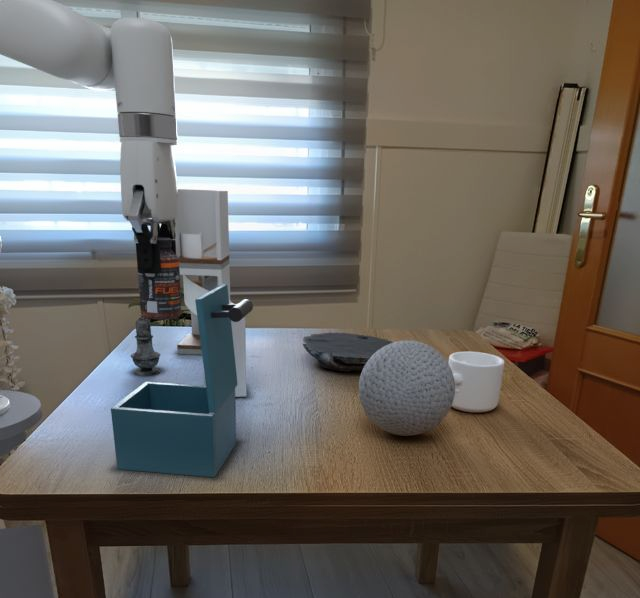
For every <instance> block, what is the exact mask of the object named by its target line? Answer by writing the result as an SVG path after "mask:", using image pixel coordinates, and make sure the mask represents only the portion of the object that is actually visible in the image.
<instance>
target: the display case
mask: <svg viewBox="0 0 640 598" xmlns="http://www.w3.org/2000/svg"><path fill="white" fill-rule="evenodd" d="M177 189H178V216H177V217H176V218H175V223H176V224H175V225H176V226H175V233H176V239H175V240H176V255H177V256H178V258H179V269H180V276H182V281H183V282H182V283H183V295H184V296H183V300H184V305H185V306H186V308H187V309H188V310H189V311H190V319H191V320H190V321H191V322H190V323H191V333H189V332H188V333H187V334H186V335H185V336H184V337H183V338H182V339H181V340H180V341H179V342H178V343H177V345H176V347H177V349H176V350H177V354H178V355H202V350H201V342H200V334H199V326H198V318H197V310H196V302H195V299H197V298H199V297H200V296H202V295H204V294H206V293H208V292H210V291H211V290H213V289H215V288H217V287H219V286H220V285H227V287H228V297H229V300H230V301H231V272H230V270H231V269H230V268H231V267H230V266H231V265H230V230H229V193H228V192H229V191H228V190H217V189H214V190H212V189H190V188H186V189H185V188H177Z"/></svg>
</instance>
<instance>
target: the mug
mask: <svg viewBox="0 0 640 598" xmlns="http://www.w3.org/2000/svg"><path fill="white" fill-rule="evenodd" d="M447 362H448V364H449V366H450V368H451V370H452V373H453V376H454V381H455V394H454V399H453V403H452V406H451V408H453V409H455V410H458V411H462V412H465V413H466V412H467V413H475V414H476V413H487V412H490V411H492V410H494V409H495V408H497V406H498V404H499V399H500V393H501V387H502V382H503V376H504V371H505V370H504V369H505V362H506V361H505V360H504V359H503V358H502V357H500V356H498V355H495V354H492V353H486V352H480V351H456V352H453V353H451V354H450V355H449V356H448V361H447Z"/></svg>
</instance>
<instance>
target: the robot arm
mask: <svg viewBox="0 0 640 598" xmlns="http://www.w3.org/2000/svg"><path fill="white" fill-rule="evenodd" d="M173 51H174V50H173V39H172V35H171V32H170V31H169V29H168V28H167V26H165V25H164V24H163V23H161V22H159V21H156V20H153V19H149V18H143V17H122V18H119V19H117V20H115V21H114V22H113V23H112V25H111V27H110V28H109V27H107V26H104V25H101V24H100V23H98V22H95V21H94V20H91V19H89V18H88V17H86V16H85V15H83V14H81V13H79V12H77V11H76V10H74V9H72V8H70V7H69V6H66V5H64V4H62V3H59V2H57V1H55V0H0V56H4V57H5V58H8V59H10V60H14V61H16V62H19V63H20V64H23V65H26V66H29V67H32V68H34V69H36V70H39V71H42V72H43V73H46V74H48V75H50V76H53V77H56V78H58V79H62V80H65V81H68V82H70V83H74V84H76V85H78V86H80V87H83V88H87V89H90V90H94V91H111V90H112V91H113V90H114V93H115V101H116V111H117V112H116V113H117V125H118V134H119V135H118V136H119V142H120V144H121V145H120V158H119V159H120V161H119V162H120V163H119V165H120V166H119V167H120V168H119V169H120V174H119V175H120V194H121V195H120V196H121V197H120V198H121V211H122V212H121V213H122V216H123V218H124V219H125V220H126V221H128V222H129V223H130V225H131V230H132V232H133V241H134V243H135V252H136V253H135V255H136V265H137V266H138V269H137V273H138V272H139V273H150V274H159V273H161V259H160V245H159V244H156V242H157V237H165V238H171V244H172V247H171V249H172V251H173V252H174V254H176V240H175V239H176V233H175V226H176V225H175V224H176V223H175V218H176V217H177V216H178V189H179V188H178V177H177V170H176V161H175V160H176V159H175V154H174V147H175V146H178V144H179V141H178V124H177V123H178V122H177V105H176V89H175V88H176V87H175V85H176V84H175V70H174V52H173ZM173 146H174V147H173ZM149 227H150V228H149ZM1 237H2V236H0V255H1V253H2V247H3V244H2V238H1ZM137 266H136V267H137ZM9 408H10V402H9V399H8V398H6V397H4V396H2V395H0V415H2V414H4V413H5V412H6V411H8V409H9Z"/></svg>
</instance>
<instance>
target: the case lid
mask: <svg viewBox="0 0 640 598" xmlns="http://www.w3.org/2000/svg"><path fill="white" fill-rule="evenodd" d="M195 302H196V310H197V318H198V326H199V334H200V342H201V350H202V354H201V357H202V364H203V365H202V366H203V375H204V374H205V379H204V383H205V382H206V390H207V398H208V406H209V413H216V411H217V410H218V409H219V408H220V406H221V405H222V404H223V403H224V401H225V400H226V399H227V398H228V396H229V395H230V394H231V393H232V391H233V390H234V389H235V388H236V386H237V385H238V383H237V374H236V364H235V354H234V345H233V335H232V325H231V321H233V322H238V321H240V320H241V319H243V318H244V317H245V318H246V317H247V315H249V314H250V313H251V312H252V311H253V310H254V309H253V308H254V304H253V302H252V301H251V300H250V299H246V298H244V299H242V300H240V301H239V302H238V303H233V304H229V297H228V287H227V285H220V286H219V287H217V288H215V289H213V290H211V291H210V292H208V293H206V294H204V295H202V296H200V297H199V298H197V299H195Z"/></svg>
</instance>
